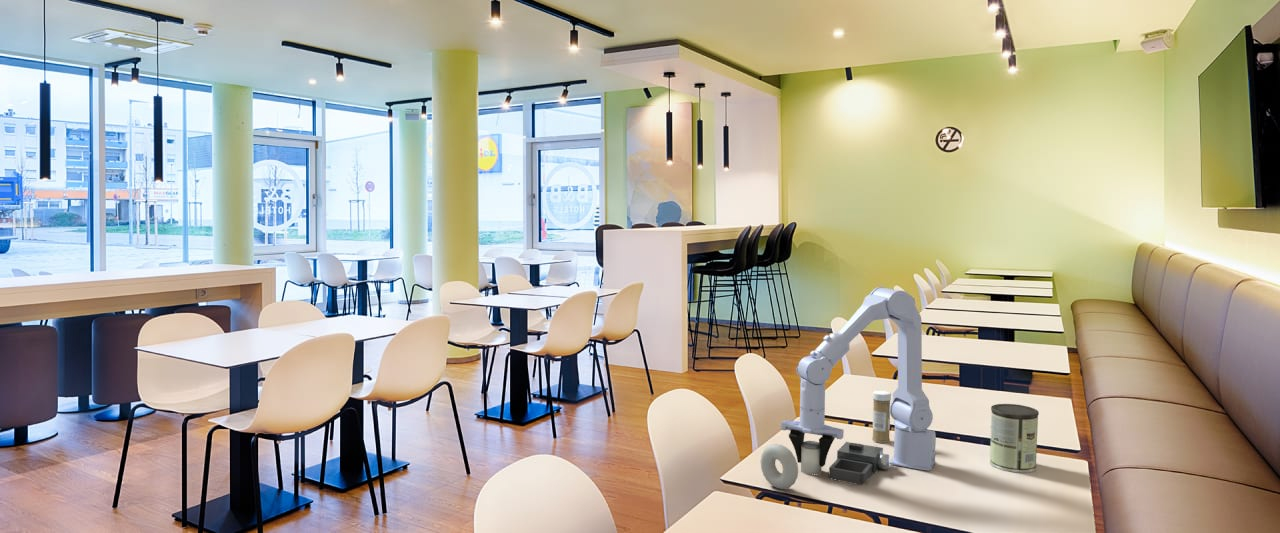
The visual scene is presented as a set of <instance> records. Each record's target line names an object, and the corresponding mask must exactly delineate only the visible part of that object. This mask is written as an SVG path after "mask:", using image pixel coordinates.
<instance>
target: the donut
mask: <svg viewBox="0 0 1280 533" xmlns="http://www.w3.org/2000/svg"><path fill="white" fill-rule="evenodd" d="M776 460H778V461H779V462H780V464H781V466H782V473H781V472H780V471H779V470H778V468H777V466H776ZM798 466H799V465H798V461H797V458H796V457H795V455H794V454H793V452H792V451H791V450H790V449H789V448H788V447H786V446H784V445H783V444H779V443H773V444H770V445H768V446H766V447H765V448H764V449H763V451H762V453H761V456H760V469H761V472H762V475H763V477H764V478H765V480H766V481H767V482H768V484H770V485H771V486H772V487H774V488H776V489H779V488H780V489H781V490H786V489H789V488H791V487H793V485H794V484H795V483H796V481H797V479H798V475H799V467H798ZM780 489H779V490H780Z"/></svg>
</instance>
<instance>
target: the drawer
mask: <svg viewBox="0 0 1280 533" xmlns="http://www.w3.org/2000/svg"><path fill="white" fill-rule="evenodd" d="M836 452H837V454H836V456H837V457H836V460H837V459H838V458H839V459H848V460H854V461H859V462H865V463H869V464H872V475H873V474H874V475H876V473H877V472H878V470H879V469H880V470H886V471H888V469H889V466H890V464H889V462H890V455H889V453H888V454H887V453H884V447H880V446H873V445H868V444H861V443H857V442H856V443H855V442H850V441H849V442H848V441H846V442H844V444H842V446H840V448H839V449H837V450H836Z"/></svg>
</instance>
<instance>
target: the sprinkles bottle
mask: <svg viewBox="0 0 1280 533" xmlns="http://www.w3.org/2000/svg"><path fill="white" fill-rule="evenodd" d="M891 399H892V394H891V392H890V391H887V390H874V391H873V392H872V400H873V408H872V409H873V410H872V441H874V442H875V443H880V444H887V443H889V442H890V440H891V439H890V430H891V418H890V417H891V415H890V405H891V401H892V400H891Z"/></svg>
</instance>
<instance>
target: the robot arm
mask: <svg viewBox="0 0 1280 533" xmlns="http://www.w3.org/2000/svg"><path fill="white" fill-rule="evenodd" d="M886 319H887V320H888V319H890V320H891V321H892V322H893V323H895V324H896V326H897V388H896V389H895V390H894V391H893V393H892V398H891V399H892V400H891V401H890V417H891V418H892V419H893V424H894V442H893V443H894V446H893V456H892V458H891V459H890V460H889V465H892V466H898V467H904V468H910V469H915V470H916V469H917V470H921V471H927V472H928V471H929V472H930V471H931V470H932V468H933V467H934V465H935V463H936V439H937V438H936V431H934V430H930V429H928V428H930V426H931V424H932V423H933V419H934V415H933V412H932V409H931V407H930V400H929V397H928V396H927V395H926V393H924V391H923V386H922V385H923V384H922V383H923V381H922V380H923V373H922V372H923V367H922V366H923V364H922V362H923V358H922V357H923V356H922V355H923V354H922V353H923V352H922V350H923V348H922V341H923V340H922V339H923V337H922V336H923V335H922V316H921V314H920V312H919V310H918V308H917V306H916V299H915V297H913V296H912V295H911V294H909V293H908V291H907V292H906V291H904V290H897V289H891V288H889V287H888V288H887V287H885V286H878V287H875V288H874V289H873V290H872V291H870V294H868V295H866V296H865V297H864V299H863V301H862V305H860V306H859V308H857V310H856V311H855V313H853V315H852V316H851V317H850V319H848V321H847V322H846V323H845V324H844V325H843V326H842V327H841V329H840V330H839V331H838V332H835V333H834V332H831V333H829V335H828V334H826V335H824V337H823V338H822V339H823V341H822V342H821V343H820V344H819V345H818V346H816V348H815V350H811V351H810V353H809V354H810V355H807V356H804V357H803V358H801V359H800V361H799V362H798V365H797V367H796V368H795V370H796V373H797V375H798V376H799V378H800V386H799V387H800V390H799V391H800V393H799V398H800V399H799V420H795V421H794V420H785V419H784V420H783V421H781V426H780V427H781V431H790V432H789V433H788V437H789V438H788V439H790V440H789V441H791V444H792V446H793V448H794V451H795V455H796V462H797V464H798V463H800V464H801V446H802V445H803V442H805V434H810V435H811V434H812V435H817V436H821V437H820V438H819V439H818V442H819V445H820V467H822V468H824V466H826V462H827V457H828V454H829V451H830V449H831V447H832V444H833V443H834V440H835V439H837V440H842V439H843V438H844V429H843V428H838V427H834V426H830V425H827V424H825V421H826V420H825V416H826V413H825V412H826V411H825V410H826V409H825V408H826V382H827V381H828V380H829V379H830V377H831V373H832V369H833V368H834V367H835V365H837V364H838V363H839V362H840V360H842V358H843V357H844V356H845V355H846V354H847V353H848V352H849V351H850V343H851V342H852V341H853V340H854V339H855V338H856V337H858V335H860V334H861V332H863V331H864V330H865V329H866V328H867V327H868V326H869V325H870V324H872V322H874V321H879V320H886Z"/></svg>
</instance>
